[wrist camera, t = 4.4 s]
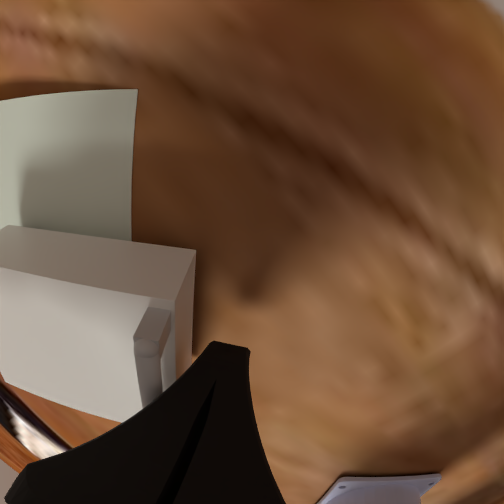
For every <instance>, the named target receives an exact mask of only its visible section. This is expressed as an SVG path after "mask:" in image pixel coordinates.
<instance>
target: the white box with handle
mask: <svg viewBox="0 0 504 504" xmlns="http://www.w3.org/2000/svg"><path fill="white" fill-rule="evenodd" d="M195 262H196V250H193V249H185V248H178V247H170V246H163V245H155V244H147V243H140V242H132V241H125V240H117V239H110V238H102V237H95V236H87V235H80V234H73V233H65V232H58V231H50V230H43V229H36V228H28V227H21V226H14V225H7V226H5V227H4V228H2V229H1V230H0V372H1V374H2V376H3V378H4V380H5V382H7V383H9V384H11V385H13V386H16V387H18V388H20V389H23V390H25V391H28V392H30V393H33V394H35V395H38V396H40V397H43V398H45V399H48V400H51V401H53V402H56V403H59V404H62V405H65V406H68V407H71V408H74V409H77V410H80V411H83V412H86V413H89V414H93V415H96V416H99V417H103V418H107V419H110V420H114V421H118V422H122V423H123V422H124V421H126V420H128V419H129V418H130V417H132V416H133V415H135V414H136V413H138V412H139V411H140V410H142V409H143V408H145V407H146V406H147V405H148V404H150V403H151V402H152V401H153V400H155V399H156V398H157V397H158V396H159V395H160V394H162V393H163V392H164V391H165V390H166V389H167V388H169V387H170V386H171V385H172V384H173V383H174V382H175V381H176V380H177V379H178V378H179V377H180V376H181V375H182V374H183V373H184V372H185V371H186V370H187V369H188V368H189V367H190V366H191V362H192V325H193V300H194V280H195Z"/></svg>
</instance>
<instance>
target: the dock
mask: <svg viewBox="0 0 504 504" xmlns="http://www.w3.org/2000/svg"><path fill="white" fill-rule="evenodd" d="M137 95H138V89H115V90H91V91H75V92H63V93H53V94H44V95H36V96H28V97H22V98H15V99H9V100H3V101H0V230H1V229H2V228H4V227H5V226H7V225H14V226H21V227H28V228H36V229H43V230H50V231H58V232H65V233H73V234H80V235H87V236H95V237H102V238H110V239H117V240H125V241H132V230H131V198H132V163H133V144H134V129H135V116H136V105H137Z"/></svg>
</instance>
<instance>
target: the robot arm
mask: <svg viewBox="0 0 504 504" xmlns="http://www.w3.org/2000/svg"><path fill="white" fill-rule="evenodd" d="M250 352H251V351H250V350H249V349H248V348H246V347H241V346H236V345H231V344H226V343H222V342H217V341H212V342H210V343H209V345H208V346H207V347H206V349H205V350H204V351H203V352H202V354H201V355H200V356H199V357H198V358H197V359H196V360H195V362H194V363H193V364H192V365H191V366H190V367H189V368H188V369H187V370H186V371H185V372H184V373H183V374H182V375H181V376H180V377H179V378H178V379H177V380H176V381H175V382H174V383H173V384H172V385H171V386H170V387H169V388H167V389H166V390H165V391H164V392H163V393H162V394H160V395H159V396H158V397H157V398H156V399H155V400H153V401H152V402H151V403H150V404H148V405H147V406H146V407H145V408H143V409H142V410H140V411H139V412H138V413H136V414H135V415H133V416H132V417H130V418H129V419H128V420H126V421H124V422H123V423H121V424H120V425H118V426H116V427H115V428H113V429H111V430H110V431H108V432H106V433H104V434H102V435H101V436H99V437H97V438H95V439H93V440H91V441H88V442H86V443H84V444H82V445H80V446H77V447H75V448H73V449H71V450H68V451H66V452H63V453H61V454H58V455H55V456H52V457H48V458H45V459H42V460H39V461H36V462H32V463H29V464H27V466H26V467H25V468H24V469H23V470H22V472H21V473H20V474H19V475H18V477H17V478H16V480H15V481H14V483H13V484H12V487H11V488H10V489H9V491H8V493H7V494H6V496H5V498H4V499H5V502H6V503H7V504H286V503H285V501H284V499H283V497H282V495H281V492H280V490H279V488H278V486H277V484H276V481H275V479H274V477H273V474H272V472H271V469H270V466H269V464H268V461H267V458H266V455H265V452H264V449H263V446H262V443H261V439H260V436H259V432H258V428H257V424H256V420H255V415H254V410H253V404H252V398H251V391H250V382H249V357H250ZM441 478H442V477H441V474H428V475H415V476H398V477H342V478H339V479H338V480H337V481H336V483H335V484H334V485H333V486H332V487H331V488H330V490H329V491H328V492H327V493H326V494H325V495H324V496H323V498H322V499H321V500H320V501H319V502H318V503H317V504H421V499H420V497H421V496H422V495H423V494H424V493H426V492H427V491H428V490H429V489H430V488H432V487H433V486H434V485H435V484H436V483H438V482H439V481H440V480H441Z"/></svg>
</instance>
